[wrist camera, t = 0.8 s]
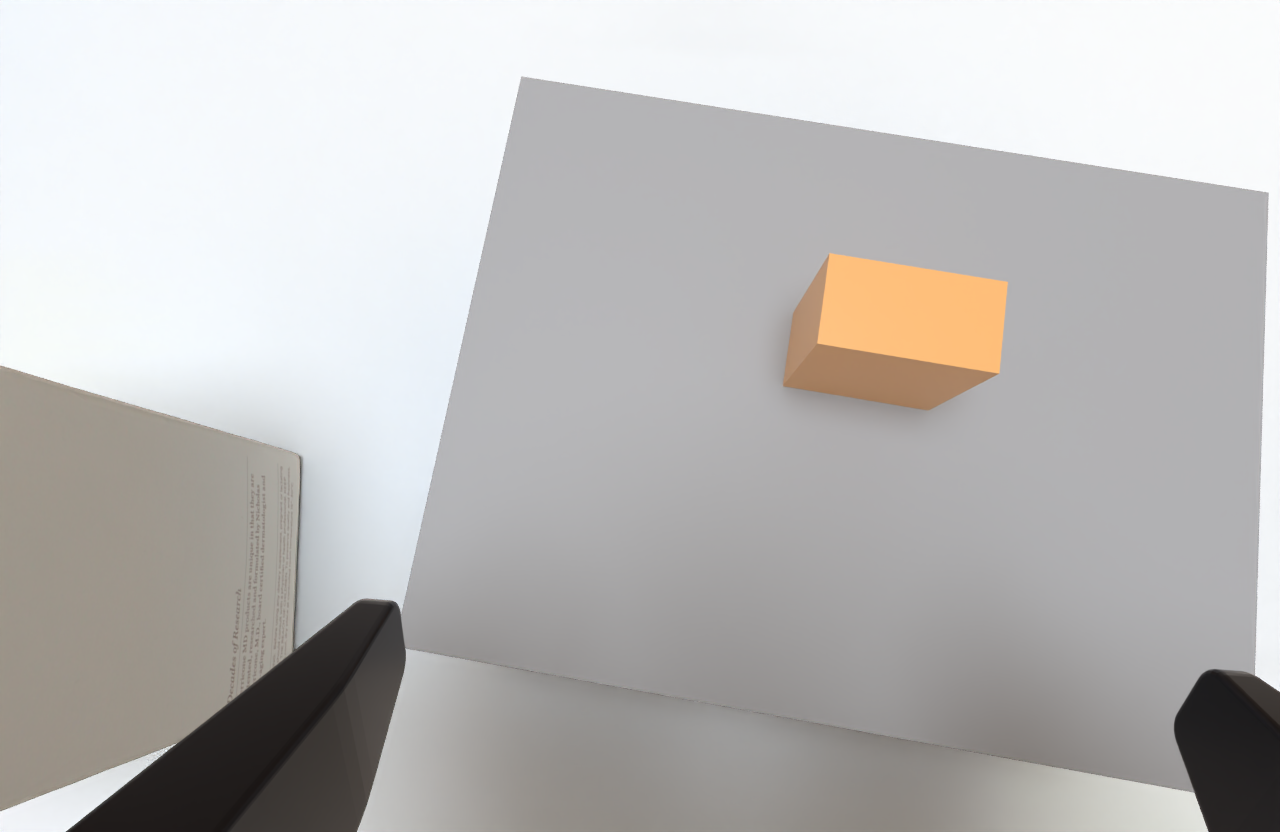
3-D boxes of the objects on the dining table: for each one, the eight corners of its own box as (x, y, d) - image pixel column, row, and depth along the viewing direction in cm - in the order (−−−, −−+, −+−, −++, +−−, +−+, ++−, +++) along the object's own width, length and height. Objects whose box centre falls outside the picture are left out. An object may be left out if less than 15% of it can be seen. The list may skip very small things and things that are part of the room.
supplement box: (308, 449, 24) (-68, 327, 11) (295, 705, 22) (-149, 894, 10) (65, 456, 23) (-584, 342, 11) (37, 713, 22) (-736, 910, 10)
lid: (1227, 793, 15) (1421, 871, 11) (403, 642, 16) (328, 669, 12) (1246, 205, 17) (1415, 107, 13) (525, 92, 18) (494, -32, 14)
